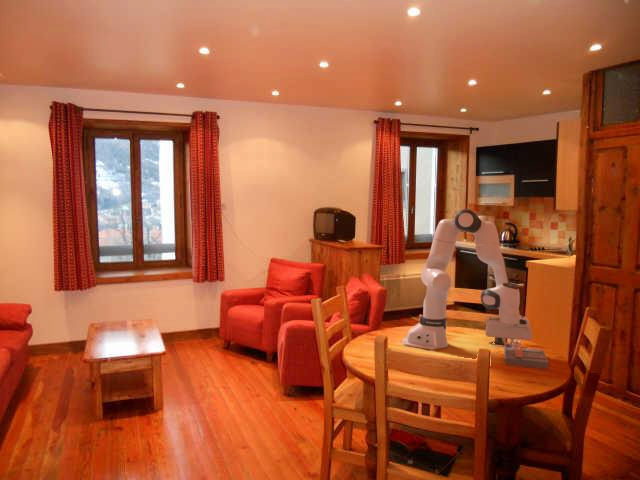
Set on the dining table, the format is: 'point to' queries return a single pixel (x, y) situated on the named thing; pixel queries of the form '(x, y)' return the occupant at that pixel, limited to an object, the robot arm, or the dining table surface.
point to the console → (527, 358)
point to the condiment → (499, 342)
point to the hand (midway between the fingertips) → (507, 347)
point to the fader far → (516, 344)
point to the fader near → (518, 351)
